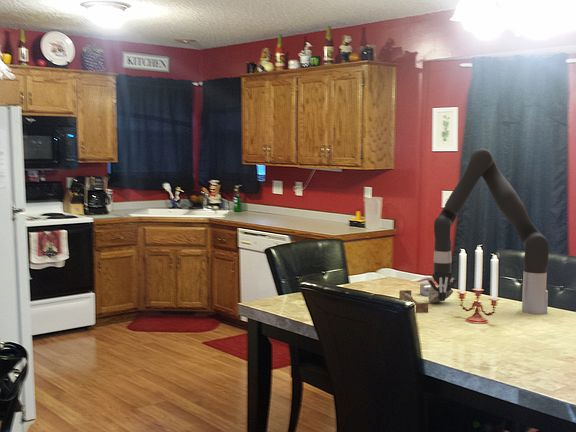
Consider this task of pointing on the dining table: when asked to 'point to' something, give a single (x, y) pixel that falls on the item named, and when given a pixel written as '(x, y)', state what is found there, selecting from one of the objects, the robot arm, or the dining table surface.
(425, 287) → the tin
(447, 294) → the rock
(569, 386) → the dining table surface
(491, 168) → the robot arm
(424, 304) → the stand
